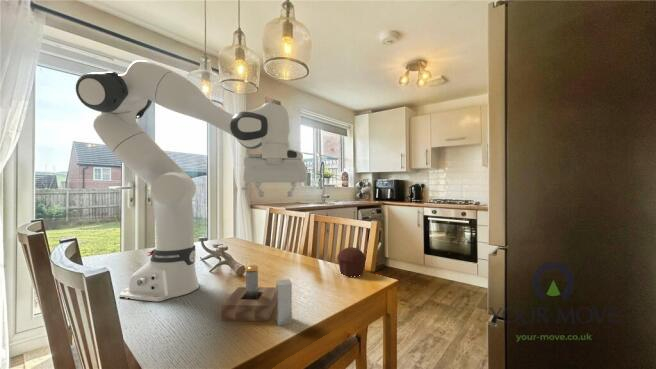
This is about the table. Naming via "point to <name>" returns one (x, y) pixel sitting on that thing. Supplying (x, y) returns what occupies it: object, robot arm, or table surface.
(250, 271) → the round bit
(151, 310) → the table surface
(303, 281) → the table surface
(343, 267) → the muffin
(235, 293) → the socket block
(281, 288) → the square bit
